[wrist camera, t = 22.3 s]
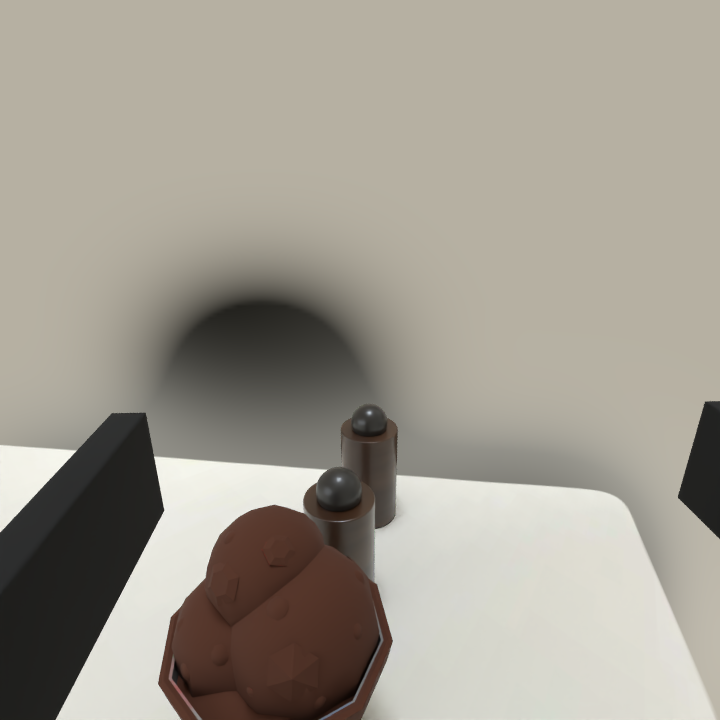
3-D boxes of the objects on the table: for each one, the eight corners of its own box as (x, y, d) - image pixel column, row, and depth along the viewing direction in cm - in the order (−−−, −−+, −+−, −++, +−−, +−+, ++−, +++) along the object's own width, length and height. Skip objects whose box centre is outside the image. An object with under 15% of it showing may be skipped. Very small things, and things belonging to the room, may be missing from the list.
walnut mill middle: (379, 575, 39) (381, 455, 35) (366, 629, 34) (366, 498, 30) (320, 565, 40) (314, 447, 36) (299, 615, 36) (290, 488, 31)
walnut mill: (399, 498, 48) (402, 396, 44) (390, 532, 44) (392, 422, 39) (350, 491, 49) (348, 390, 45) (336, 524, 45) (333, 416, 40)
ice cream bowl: (142, 812, 25) (76, 590, 19) (269, 634, 34) (250, 450, 29) (324, 942, 21) (309, 707, 15) (412, 699, 30) (423, 498, 24)
